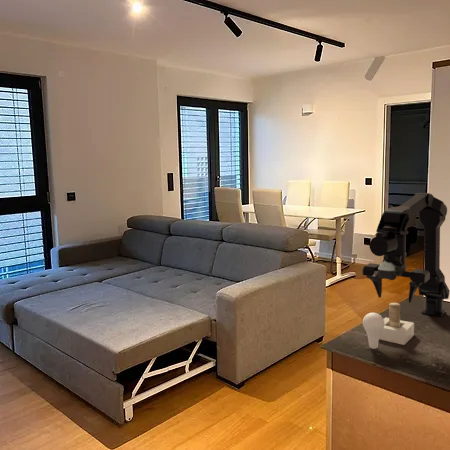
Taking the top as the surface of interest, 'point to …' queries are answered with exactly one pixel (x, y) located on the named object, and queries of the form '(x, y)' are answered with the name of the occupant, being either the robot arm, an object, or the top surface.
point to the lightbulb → (373, 328)
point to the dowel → (394, 315)
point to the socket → (397, 332)
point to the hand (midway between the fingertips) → (394, 299)
